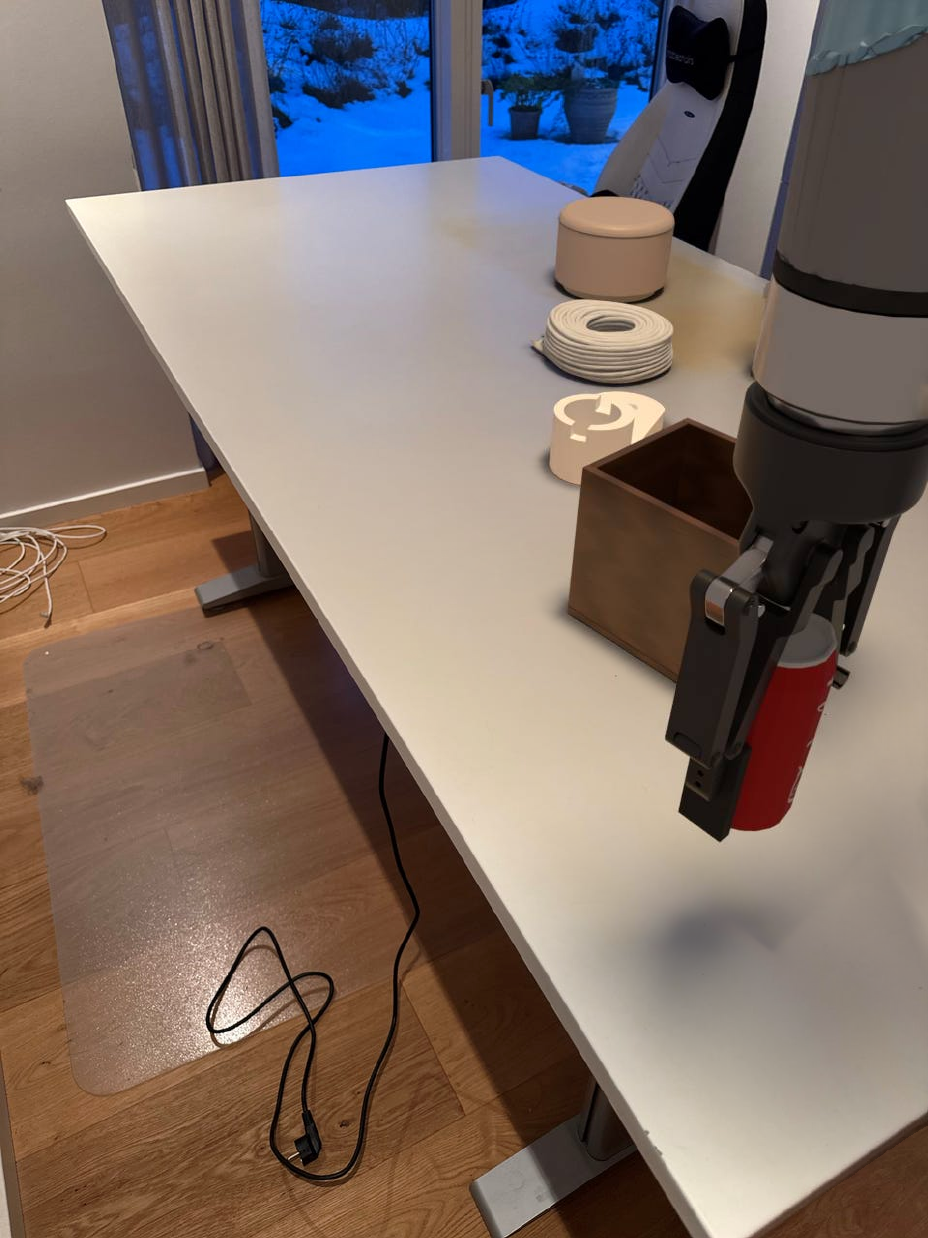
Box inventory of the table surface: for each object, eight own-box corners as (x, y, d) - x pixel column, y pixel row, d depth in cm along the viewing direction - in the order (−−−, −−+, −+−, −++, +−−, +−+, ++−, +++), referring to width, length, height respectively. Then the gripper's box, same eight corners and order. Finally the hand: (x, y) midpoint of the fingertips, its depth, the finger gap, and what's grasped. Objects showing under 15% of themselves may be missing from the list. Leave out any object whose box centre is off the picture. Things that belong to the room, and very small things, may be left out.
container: (532, 288, 148) (536, 211, 141) (590, 260, 160) (596, 188, 152) (630, 314, 140) (640, 234, 133) (684, 283, 151) (696, 207, 144)
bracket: (610, 493, 99) (617, 437, 95) (536, 473, 102) (540, 418, 98) (669, 419, 113) (678, 367, 109) (602, 403, 116) (608, 352, 112)
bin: (566, 612, 83) (581, 467, 74) (662, 556, 90) (687, 417, 81) (719, 710, 73) (758, 557, 64) (813, 638, 80) (860, 491, 71)
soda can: (800, 838, 48) (862, 664, 41) (695, 836, 48) (737, 663, 41) (774, 759, 52) (826, 589, 45) (678, 758, 52) (713, 588, 45)
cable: (523, 343, 131) (526, 300, 127) (635, 329, 135) (640, 288, 131) (573, 394, 118) (577, 349, 114) (694, 378, 122) (702, 333, 119)
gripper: (880, 310, 43) (776, 682, 57) (615, 433, 33) (570, 843, 47) (1048, 358, 38) (889, 748, 53) (798, 516, 29) (687, 940, 43)
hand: (738, 792), depth 50 cm, fingers closed on soda can, 5 cm apart
